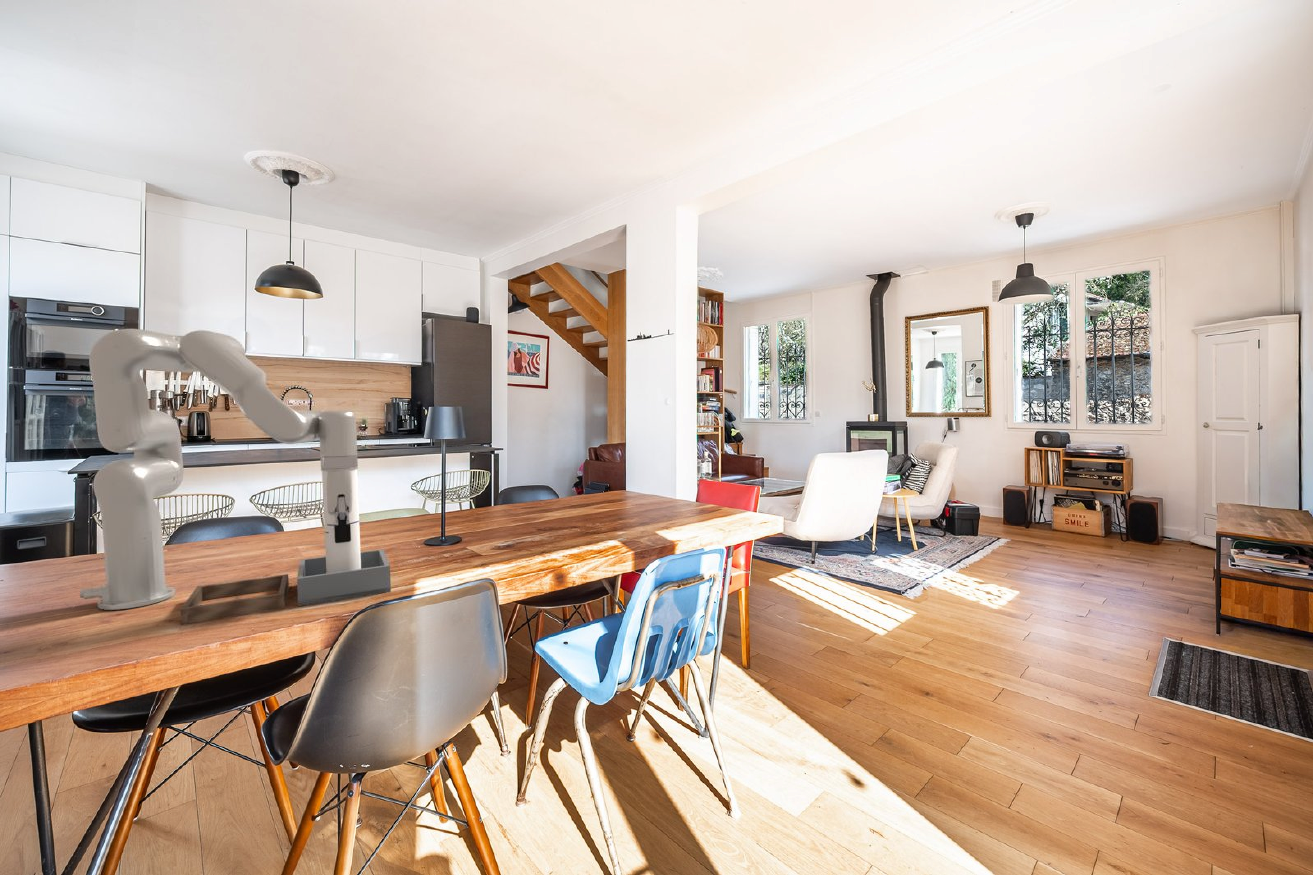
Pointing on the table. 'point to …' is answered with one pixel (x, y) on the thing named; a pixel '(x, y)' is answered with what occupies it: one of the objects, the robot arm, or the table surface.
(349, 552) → the cylindrical container
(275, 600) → the walnut frame
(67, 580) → the table surface
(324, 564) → the charcoal bin
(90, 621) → the table surface
